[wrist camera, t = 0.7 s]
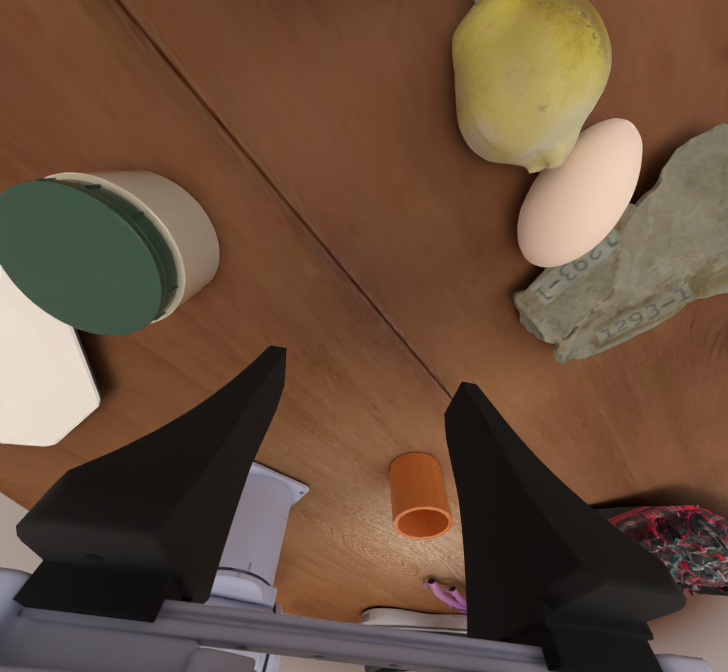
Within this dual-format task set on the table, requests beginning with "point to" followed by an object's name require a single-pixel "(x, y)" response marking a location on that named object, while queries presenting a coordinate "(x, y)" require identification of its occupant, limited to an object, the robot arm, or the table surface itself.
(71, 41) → the table surface
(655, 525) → the fabric swatch
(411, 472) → the cup
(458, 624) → the boat shoe
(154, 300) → the jar lid
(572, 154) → the egg
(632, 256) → the stone
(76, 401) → the plate
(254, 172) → the table surface
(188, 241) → the jar
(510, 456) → the robot arm
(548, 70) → the fruit
